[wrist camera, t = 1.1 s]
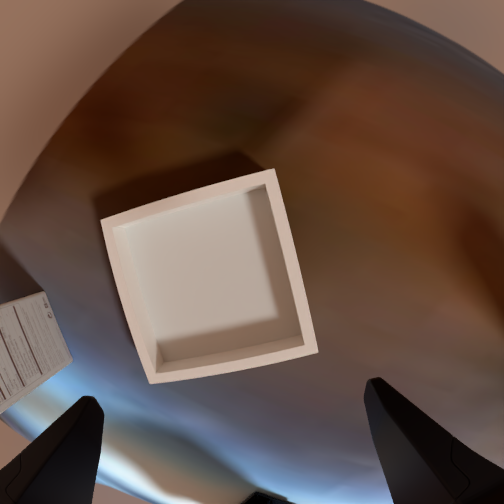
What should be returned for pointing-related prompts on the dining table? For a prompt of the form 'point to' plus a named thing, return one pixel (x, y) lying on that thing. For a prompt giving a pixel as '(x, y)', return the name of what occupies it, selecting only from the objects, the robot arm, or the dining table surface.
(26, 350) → the supplement box
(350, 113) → the dining table surface
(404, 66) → the dining table surface
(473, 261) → the dining table surface
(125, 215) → the tray
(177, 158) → the dining table surface
